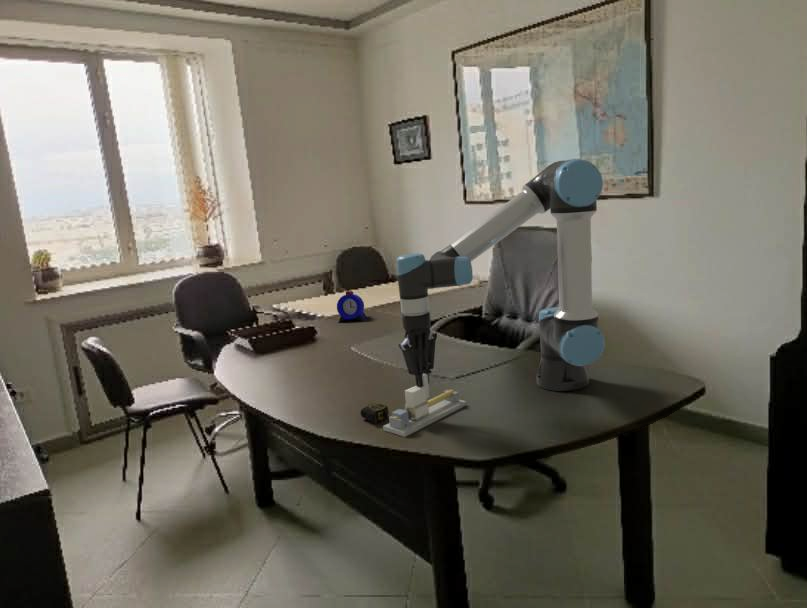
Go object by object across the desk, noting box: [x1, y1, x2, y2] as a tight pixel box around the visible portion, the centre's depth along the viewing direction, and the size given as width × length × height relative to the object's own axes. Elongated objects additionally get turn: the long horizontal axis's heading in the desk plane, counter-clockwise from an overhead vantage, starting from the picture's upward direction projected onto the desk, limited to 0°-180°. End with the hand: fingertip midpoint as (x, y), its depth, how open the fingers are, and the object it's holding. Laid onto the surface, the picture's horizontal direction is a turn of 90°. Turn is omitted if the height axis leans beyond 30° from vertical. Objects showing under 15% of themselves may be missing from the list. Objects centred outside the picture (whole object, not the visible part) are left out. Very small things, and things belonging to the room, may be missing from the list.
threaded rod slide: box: [382, 389, 467, 438], centre depth 167 cm, size 25×8×5 cm, turn 135°
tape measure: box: [360, 402, 389, 424], centre depth 170 cm, size 7×7×4 cm
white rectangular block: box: [404, 385, 429, 421], centre depth 164 cm, size 5×4×8 cm
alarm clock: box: [336, 290, 367, 324], centre depth 299 cm, size 12×12×15 cm
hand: (424, 396), depth 166 cm, fingers closed
